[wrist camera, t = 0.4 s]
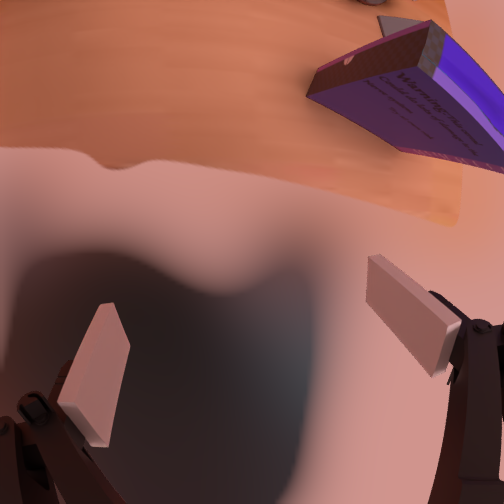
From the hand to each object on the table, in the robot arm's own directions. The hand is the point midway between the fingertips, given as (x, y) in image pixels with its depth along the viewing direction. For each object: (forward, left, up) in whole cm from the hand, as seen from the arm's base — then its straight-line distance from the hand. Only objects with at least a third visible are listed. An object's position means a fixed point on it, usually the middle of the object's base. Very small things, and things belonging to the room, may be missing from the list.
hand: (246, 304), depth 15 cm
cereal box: (-8, +23, -28) cm, 37 cm away
